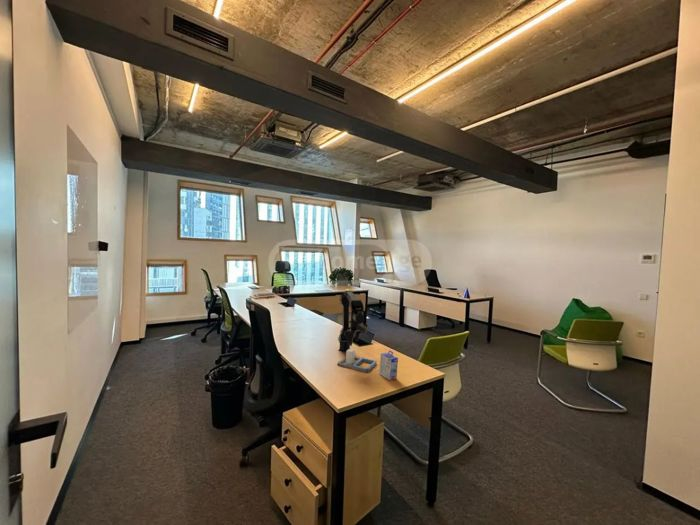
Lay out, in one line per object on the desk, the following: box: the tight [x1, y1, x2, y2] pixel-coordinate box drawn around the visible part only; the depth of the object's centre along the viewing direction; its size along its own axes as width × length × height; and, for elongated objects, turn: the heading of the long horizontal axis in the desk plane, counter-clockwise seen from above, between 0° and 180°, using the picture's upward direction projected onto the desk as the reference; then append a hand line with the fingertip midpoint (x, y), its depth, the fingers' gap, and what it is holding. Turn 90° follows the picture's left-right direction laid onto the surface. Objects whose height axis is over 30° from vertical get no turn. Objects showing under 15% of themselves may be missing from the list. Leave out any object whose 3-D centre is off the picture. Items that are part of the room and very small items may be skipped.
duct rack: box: [337, 356, 378, 373], centre depth 182 cm, size 20×15×2 cm
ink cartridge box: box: [378, 349, 399, 381], centre depth 167 cm, size 10×6×14 cm, turn 33°
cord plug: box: [345, 348, 356, 365], centre depth 184 cm, size 4×4×8 cm
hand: (353, 343), depth 184 cm, fingers open, 9 cm apart
